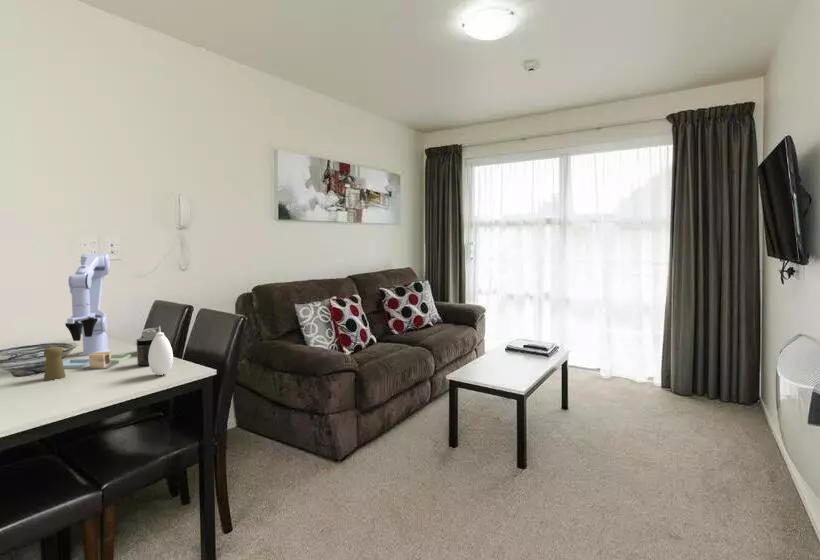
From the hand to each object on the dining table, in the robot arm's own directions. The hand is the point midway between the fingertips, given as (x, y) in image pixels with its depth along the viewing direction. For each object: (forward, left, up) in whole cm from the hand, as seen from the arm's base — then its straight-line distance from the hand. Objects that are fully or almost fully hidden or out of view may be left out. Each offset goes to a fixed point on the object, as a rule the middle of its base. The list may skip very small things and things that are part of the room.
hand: (82, 338), depth 179 cm
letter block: (+9, +11, -9) cm, 17 cm away
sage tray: (0, +10, -9) cm, 14 cm away
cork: (+22, +3, -10) cm, 24 cm away
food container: (-14, +19, -10) cm, 25 cm away
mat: (+9, +11, -9) cm, 17 cm away
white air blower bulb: (+21, +38, -10) cm, 44 cm away
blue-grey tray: (+6, 0, -9) cm, 11 cm away
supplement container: (+7, +27, -10) cm, 29 cm away
